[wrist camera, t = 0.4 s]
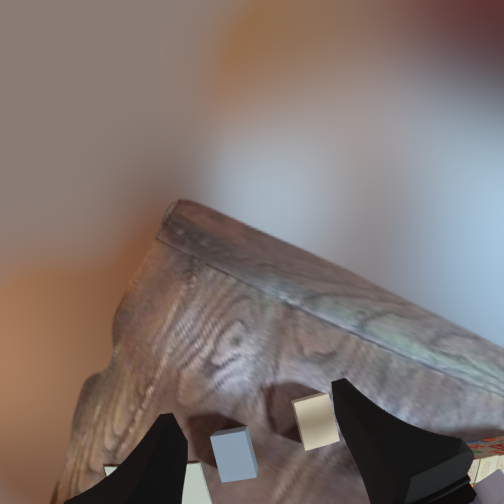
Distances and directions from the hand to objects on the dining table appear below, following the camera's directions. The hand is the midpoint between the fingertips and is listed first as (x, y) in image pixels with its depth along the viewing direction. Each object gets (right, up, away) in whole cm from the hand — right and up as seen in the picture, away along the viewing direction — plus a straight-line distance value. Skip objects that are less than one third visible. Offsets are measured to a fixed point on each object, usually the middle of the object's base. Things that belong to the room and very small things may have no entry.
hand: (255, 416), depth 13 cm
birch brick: (+7, -13, +23) cm, 27 cm away
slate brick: (-2, -17, +21) cm, 28 cm away
